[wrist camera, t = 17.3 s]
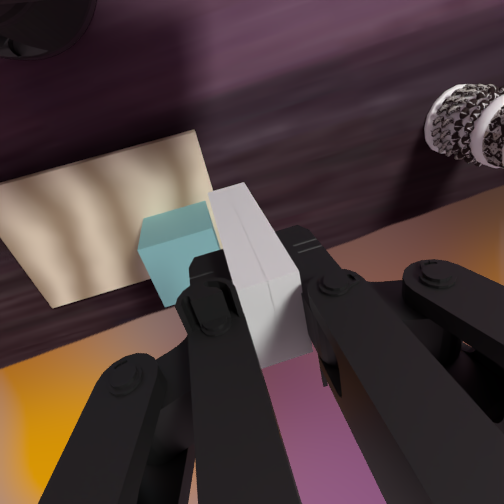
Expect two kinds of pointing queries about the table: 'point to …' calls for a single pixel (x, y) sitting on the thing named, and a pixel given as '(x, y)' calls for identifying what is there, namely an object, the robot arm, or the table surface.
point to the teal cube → (175, 247)
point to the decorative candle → (468, 124)
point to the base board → (98, 215)
